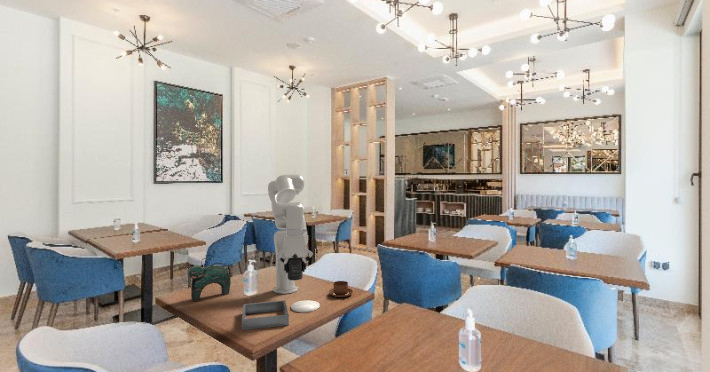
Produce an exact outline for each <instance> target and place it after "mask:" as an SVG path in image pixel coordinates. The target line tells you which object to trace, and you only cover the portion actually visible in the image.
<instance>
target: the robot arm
mask: <svg viewBox="0 0 710 372" xmlns="http://www.w3.org/2000/svg"><path fill="white" fill-rule="evenodd" d="M304 188H305V180H304V178H303V176H301V175H300V174H282V175H279V176H277V177H276V179H275V180H271V181H270V182H269V183H268V184H267V193H268V197H269V200H270V202H271V210H272V215H273V217H274V223H275V224H274V225H275V227H276V228H277V231H276V232H274V234H273V242H274V247H275V248H274V250H275V251H274V252H275V286H274V287H273V289H272V292H273V293H275V294H283V295H285V294H291V293H295V292H297V291H298V289H299V287H298V286H297V285H295V282H296V280H289V279H288V278H287V273H288V264H287V261H288V259H289V258H293V257H292V256H293V255H294V254H295V253H296V254H297V256H298V258H302V260H303V273H305V272H306V270H307V262H308V261H309V260H310V259H311V258H312V256H314V253H313V252H312V251H311V250H309V248H308V247H307V245H308V244H309V243H308V242H309V237H308V229H307V224H306V218H305V217H306V216H305V214H304V213H305V207H304V205H303V204H302V203H301V202H297V201H296V202H294V201H293V200H294V199H296V196H298V195H300V193H302V192H303V190H304ZM291 201H293V202H291ZM307 254H308V255H307Z"/></svg>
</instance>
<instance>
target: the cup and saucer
mask: <svg viewBox="0 0 710 372" xmlns="http://www.w3.org/2000/svg"><path fill="white" fill-rule="evenodd" d="M348 292H349V294H348V295H345V294H347V293H348ZM333 293H335V294H336V295H333ZM353 293H354V291H353V290H352V288H349V282H348V281H345V280H337V281H334V282H333V288H331V289H329V290H328V294H329V295H331V296H332V297H335V298H346V297H349V296H351V295H352V294H353Z"/></svg>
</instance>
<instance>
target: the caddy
mask: <svg viewBox="0 0 710 372" xmlns="http://www.w3.org/2000/svg"><path fill="white" fill-rule="evenodd" d="M287 306H288V305H287V301H286V300H285V299H284V300H274V301H264V302H253V303H243V306H242V315H241V330H242V331H248V330H257V329H266V328H274V327H283V326H285V327H286V326H289V325H290V324H289V323H290V321H289V320H290V319H289V317H290V314H289V311H288V307H287ZM276 311H277V312H279V311H283V314H281V315H280V314H279V315H271V316H270V315H269V316H260V317H259V316H258V317H250V318H249V317H248V318H246V316H247V314H248V315H250V314H257V313H258V314H259V313H268V312H276Z"/></svg>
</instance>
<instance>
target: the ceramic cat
mask: <svg viewBox="0 0 710 372" xmlns="http://www.w3.org/2000/svg"><path fill="white" fill-rule="evenodd" d="M205 259H206V260H209V257H204V258H202V259H201V262H200V263H201V265H200V264H191V265H190V267H189V268H188V270H187V273H188V274H187V275H188V276H189V278H190V279H191V288H190V289H191V290H190V291H191V292H190V293H191V295H190V296H191V301H192V300H193V302H197V301H196V300H199V301H200V300H201V295H202V292H203V290H204V289H205V287H206V286H209V285H210V284H217V285H219V286H220V289H221V295H223V296H225V294H226V295H229V294H230V292H231V291H230V288H231V275H230V273H229V271H228V267H227V265H226V264H225V263H223V262H215V263H213V264H210V265H207V266H204V264H203V260H205ZM224 266H225V267H224Z"/></svg>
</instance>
